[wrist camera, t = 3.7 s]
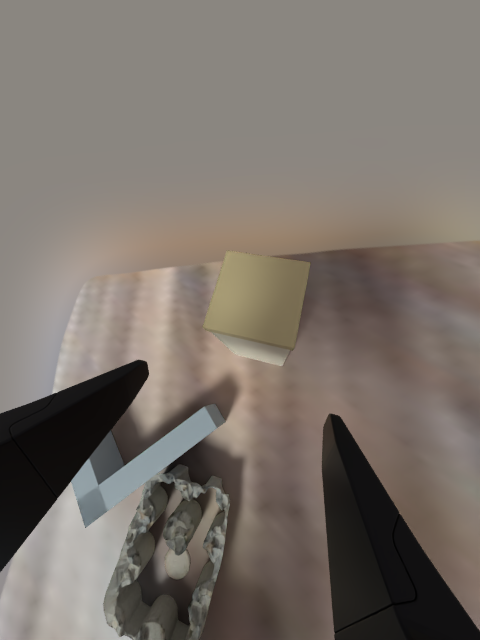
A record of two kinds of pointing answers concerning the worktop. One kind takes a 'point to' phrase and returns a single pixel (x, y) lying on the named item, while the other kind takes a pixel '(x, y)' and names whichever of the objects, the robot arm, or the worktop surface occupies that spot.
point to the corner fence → (135, 464)
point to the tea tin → (258, 305)
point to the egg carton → (166, 561)
